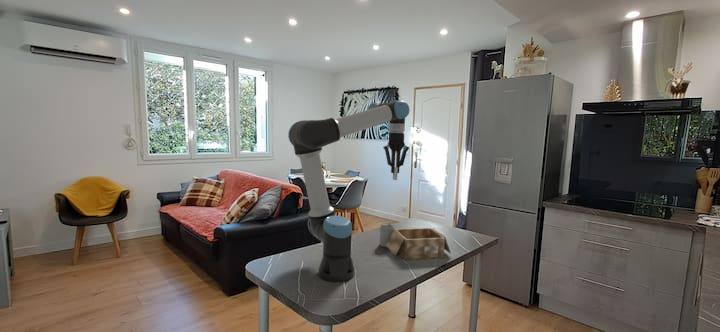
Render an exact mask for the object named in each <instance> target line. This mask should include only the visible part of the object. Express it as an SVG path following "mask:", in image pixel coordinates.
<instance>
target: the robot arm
mask: <svg viewBox="0 0 720 332" xmlns="http://www.w3.org/2000/svg"><path fill="white" fill-rule="evenodd" d="M367 107H368V108H367V109H366V110H363V111H359V112H356V113H352V114H349V115H345V116H342V117H338V118H334V117H329V118H326V119H325V118H324V119H318V120H317V119H312V120H310V119H309V120H305V119H304V120H299V121H296V122H295V123H293V124H292V125H291V126H290V128H289V130H288V134H287V137H288V140H289V142H290V143H291V145H292V146H293V150H294V154H295V156H297V157H298V158H299V161H300V164H301V165H300V166H301V170H302V175H303V179H304V184H305V189H306V193H307V197H308V198H307V199H308V202H309V207H310V210H309V211H308V219H307V227H308V230H309V232H310V234H311V235H312V236H313V237H314V238H316V239H317V240H319V241H320V242H321V243H322V244H323V246H322V249H323V250H322V258H321V260H320V264H319V267H318V274H319V275H318V276H319V277H320V279H322V280H324V281H327V282H334V283H335V282H338V283H339V282H344V281H348V280H351V279H353V278H354V276H355V266H354V263H353V258H352V236H353V235H352V233H353V228H352V227H353V225H352V222H351V220H350V219H348V217H345V216H341V215H336V213H335V208H334V207H333V206H331V205H330V200H329V195H328V191H327V185H326V179H325V175H324V171H323V170H324V169H323V165H322V160H321V155H320V154H321V152H322V151H323V147H326V146H328V145H331V144H333V143H336V142H338V141H341V138H343V137H346V136H349V135H352V134H355V133H358V132H361V131H365V130H368V129H369V128H373V127H376V126H380V125H382V124H386V123H388V122H389V127H388V132H389V134H388V142H387V144H386V145H384V146H383V147H382V148H383V150H384V153H385V157H386V162H387V163H386V164H387V165H388V166H390V168H391V170H390V173H392V180H393V181H398V174H400V167H401V166H404V163H405V159H406V157H407V153H408V150H409V148H410V147H409V146H407V145H406V144H405V133H404V132H405V126H406V125H405V123H406V118H407V117H408V116H409V114H410V106H409V104H408V103H407V102H406V101H405V100H395V99H394V100H391V101H390V102H381V103H380V102H372V103H370V104H369V105H368V106H367ZM389 149H390V150H389ZM402 149H403V150H402ZM390 151H391V155H390ZM401 152H402V153H401Z"/></svg>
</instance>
